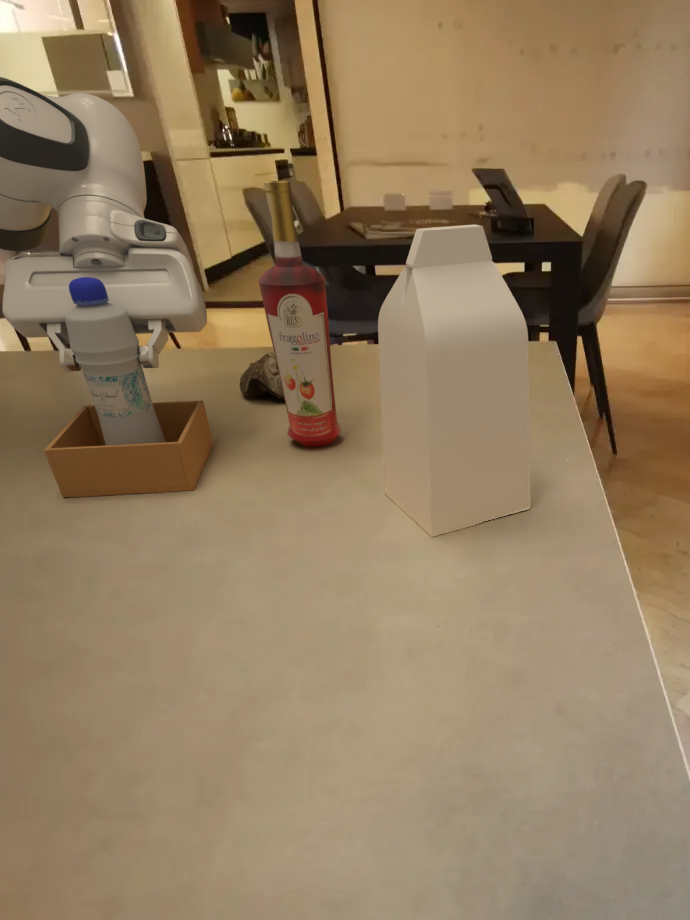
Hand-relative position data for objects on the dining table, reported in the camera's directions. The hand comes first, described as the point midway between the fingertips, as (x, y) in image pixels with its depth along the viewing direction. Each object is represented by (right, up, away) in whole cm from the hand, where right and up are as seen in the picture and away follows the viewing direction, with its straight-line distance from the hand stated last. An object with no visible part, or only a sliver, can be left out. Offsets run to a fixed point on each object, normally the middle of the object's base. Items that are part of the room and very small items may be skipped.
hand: (110, 367), depth 75 cm
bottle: (0, -9, +8) cm, 12 cm away
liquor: (+19, -4, +15) cm, 24 cm away
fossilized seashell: (+9, +7, +29) cm, 31 cm away
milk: (+37, -15, +1) cm, 40 cm away
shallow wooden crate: (0, -9, +8) cm, 12 cm away
